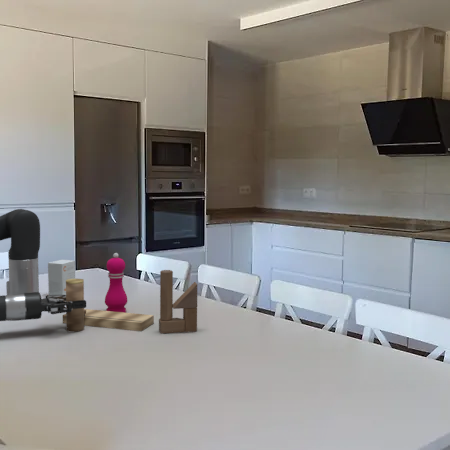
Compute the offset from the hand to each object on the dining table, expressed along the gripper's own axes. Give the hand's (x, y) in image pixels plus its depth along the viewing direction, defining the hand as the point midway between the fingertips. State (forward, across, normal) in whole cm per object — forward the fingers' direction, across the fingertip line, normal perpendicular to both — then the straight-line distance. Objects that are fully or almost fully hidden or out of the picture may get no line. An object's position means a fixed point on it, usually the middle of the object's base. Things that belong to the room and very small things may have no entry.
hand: (84, 301), depth 166 cm
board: (+8, -3, -8) cm, 12 cm away
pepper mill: (+13, -13, -8) cm, 20 cm away
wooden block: (+25, +12, -8) cm, 29 cm away
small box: (0, -45, -8) cm, 46 cm away
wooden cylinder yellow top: (-2, -1, -8) cm, 8 cm away
